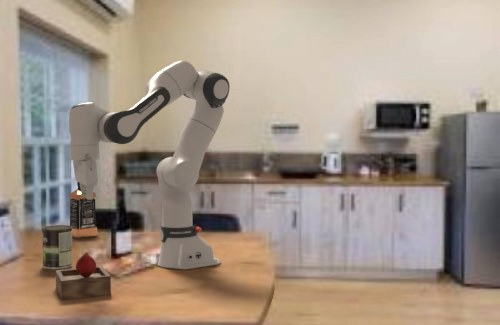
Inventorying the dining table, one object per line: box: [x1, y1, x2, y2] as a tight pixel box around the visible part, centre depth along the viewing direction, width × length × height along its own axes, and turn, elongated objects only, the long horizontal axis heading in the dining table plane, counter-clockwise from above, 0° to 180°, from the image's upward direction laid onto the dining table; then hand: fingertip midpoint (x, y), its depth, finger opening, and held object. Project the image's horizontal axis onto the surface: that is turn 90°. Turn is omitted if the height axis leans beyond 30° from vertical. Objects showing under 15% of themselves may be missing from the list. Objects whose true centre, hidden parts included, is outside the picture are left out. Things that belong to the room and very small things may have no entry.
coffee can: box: [41, 224, 73, 270], centre depth 210 cm, size 10×10×14 cm
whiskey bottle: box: [68, 181, 98, 239], centre depth 272 cm, size 10×10×32 cm
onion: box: [75, 251, 97, 278], centre depth 176 cm, size 6×6×8 cm
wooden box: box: [55, 265, 112, 301], centre depth 177 cm, size 14×14×6 cm
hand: (87, 197), depth 185 cm, fingers open, 8 cm apart
